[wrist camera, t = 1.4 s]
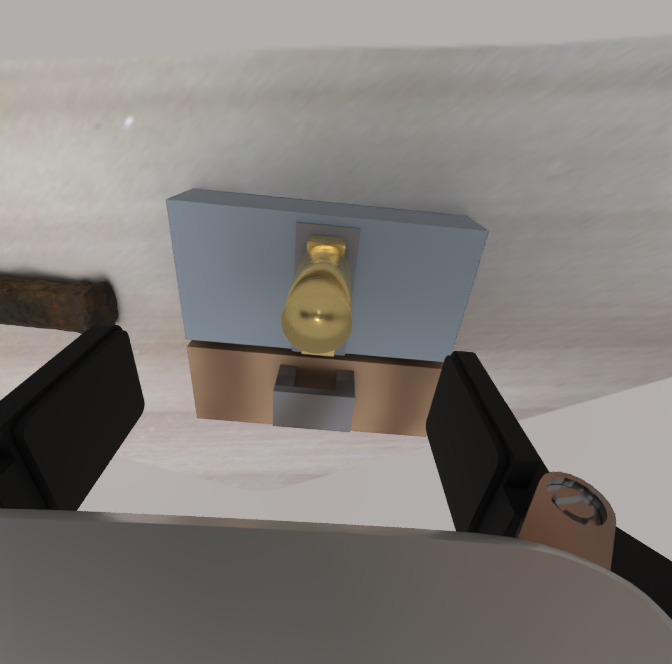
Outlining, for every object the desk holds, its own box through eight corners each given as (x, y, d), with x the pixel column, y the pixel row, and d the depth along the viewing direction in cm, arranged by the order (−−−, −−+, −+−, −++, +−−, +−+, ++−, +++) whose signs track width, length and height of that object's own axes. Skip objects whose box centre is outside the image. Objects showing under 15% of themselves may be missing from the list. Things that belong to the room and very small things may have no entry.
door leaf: (467, 216, 23) (490, 232, 19) (435, 333, 28) (449, 364, 24) (193, 188, 23) (163, 200, 19) (206, 312, 27) (183, 341, 23)
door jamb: (433, 339, 28) (458, 396, 22) (416, 402, 31) (433, 467, 25) (206, 319, 27) (168, 371, 21) (213, 385, 31) (182, 447, 25)
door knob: (352, 238, 19) (356, 292, 13) (340, 345, 23) (338, 428, 17) (302, 233, 19) (281, 285, 13) (297, 341, 23) (279, 423, 16)
